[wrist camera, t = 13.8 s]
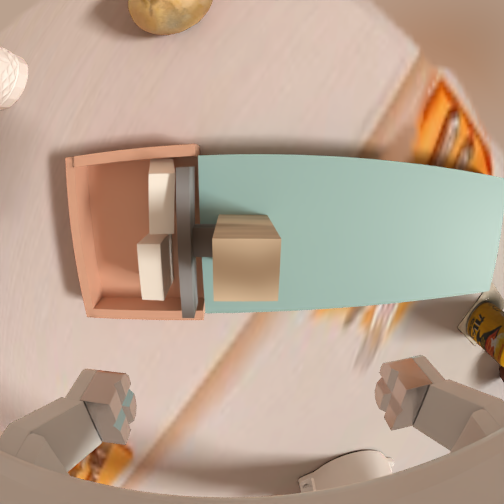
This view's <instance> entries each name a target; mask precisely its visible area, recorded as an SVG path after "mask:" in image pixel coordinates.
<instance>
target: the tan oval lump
mask: <svg viewBox="0 0 504 504" xmlns="http://www.w3.org/2000/svg"><path fill="white" fill-rule="evenodd" d="M211 4H212V0H129V1H128V9H129V12H130V15H131V17H132V19H133V21H134V22H135V23H136V24H137V26H139V27H140V28H141V29H142V30H144V31H146V32H149V33H152V34H157V35H170V34H175V33H180V32H182V31H184V30H186V29H188V28H190V27H191V26H193V25H195V24H197V23H198V22H199V21H200V20H201V19H202V18H203V17H204V16H205V14H206V13H207V11H208V10H209V8H210V6H211Z"/></svg>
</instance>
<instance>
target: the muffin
mask: <svg viewBox="0 0 504 504" xmlns="http://www.w3.org/2000/svg"><path fill="white" fill-rule="evenodd" d="M499 370H500V377H501V379H502V380H503V382H504V367H503V366H500V368H499Z"/></svg>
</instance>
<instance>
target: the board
mask: <svg viewBox="0 0 504 504" xmlns="http://www.w3.org/2000/svg"><path fill="white" fill-rule="evenodd" d="M198 176H199V209H200V224H216V223H217V219H218V216H219V214H223V215H268V217H269V219H270V220H271V222H272V224H273V226H274V227H275V229H276V231H277V232H278V234H279V236H280V237H281V256H280V276H279V293H278V301H214V295H213V257H202V270H203V285H204V299H205V313H243V312H272V311H295V310H313V309H329V308H343V307H356V306H368V305H379V304H390V303H400V302H409V301H419V300H427V299H436V298H444V297H451V296H459V295H466V294H473V293H480V292H486V291H489V290H490V286H491V282H492V278H493V273H494V269H495V264H496V259H497V253H498V248H499V242H500V236H501V229H502V221H503V213H504V178H500V177H495V176H490V175H485V174H480V173H474V172H469V171H463V170H457V169H450V168H444V167H437V166H430V165H422V164H414V163H406V162H397V161H387V160H377V159H365V158H352V157H336V156H317V155H286V154H230V155H199V156H198Z"/></svg>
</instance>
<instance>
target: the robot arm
mask: <svg viewBox="0 0 504 504" xmlns="http://www.w3.org/2000/svg"><path fill="white" fill-rule="evenodd" d="M379 373H380V375H381V376H382V378H381V379H380V380H379V381H378V382H377V384H376V388H375V400H376V403H377V405H378V407H379V409H381V410H383V411H385V412H386V413H385V416H384V418H385V420H386V422H387V424H388V426H389V427H390V429H391V431H392V430H396V429H400V428H404V427H408V426H412V425H413V427H415V428H416V429H418V430H419V431H421V432H422V433H424V434H425V435H427V436H428V437H430V438H431V439H433V440H435V441H436V442H438V443H439V444H441V445H442V446H444V447H446V448H447V449H449V450H450V453H449V454H447V455H444V456H442V457H439V458H437V459H434V460H431V461H429V462H426V463H423V464H420V465H418V466H415V467H412V468H409V469H406V470H403V471H399V472H396V473H392V470H391V468H392V466H393V465H394V460H393V459H392V458H386V457H385V456H384V455H383V454H382V453H381V452H378V451H373V450H367V451H359V452H354V453H351V454H347V455H344V456H341V457H339V458H336V459H334V460H332V461H330V462H328V463H326V464H325V465H323V466H322V467H320V468H319V469H317V470H316V471H314V472H313V473H310V474H308V475H305V476H303V477H301V478H300V479H299V480H298V482H299V486H300V491H301V493H295V494H286V495H275V496H261V497H232V498H222V497H192V496H178V495H167V494H158V493H150V492H143V491H137V490H130V489H125V488H119V487H114V486H109V485H104V484H100V483H95V482H91V481H87V480H83V479H79V478H76V477H72V476H70V475H69V474H68V471H69V470H70V469H72V468H73V467H74V466H75V465H76V464H78V463H79V462H80V461H81V460H82V459H84V458H85V457H86V456H87V455H88V454H90V453H91V452H92V451H93V450H94V449H95V448H97V447H98V446H99V445H100V444H101V443H102V442H109V443H116V444H124V445H126V443H127V440H128V437H129V434H130V431H131V429H130V427H129V424H130V423H131V422H133V421H134V419H135V416H136V407H137V405H136V399H135V395H134V393H133V392H132V391H131V390H130V389H129V387H130V385H131V382H130V378H129V375H127V374H126V373H118V372H109V371H102V370H93V369H84V370H83V371H82V372H81V374H80V375H79V377H78V378H77V380H76V381H75V383H74V385H73V386H72V388H71V389H70V391H69V393H68V394H67V396H66V397H65V398H63V397H61V398H59V399H57V400H55V401H53V402H51V403H49V404H48V405H46V406H44V407H42V408H40V409H38V410H36V411H34V412H32V413H30V414H28V415H26V416H24V417H22V418H20V419H18V420H16V421H14V422H12V423H10V424H9V425H8V426H7V428H6V429H5V431H4V432H3V434H2V435H1V437H0V504H504V401H503V400H502V399H500V398H497V397H494V396H491V395H489V394H486V393H483V392H481V391H478V390H475V389H473V388H470V387H467V386H465V385H462V384H460V383H457V382H454V381H452V380H445V379H444V378H443V377H442V376H441V374H440V373H439V372H438V371H437V370H436V369H435V368H434V366H433V365H432V364H431V363H430V362H429V361H428V360H427V359H426V357H425V356H422V355H419V356H414V357H410V358H407V359H402V360H397V361H391V362H386V363H383V364H382V366H381V369H380V372H379Z"/></svg>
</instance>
